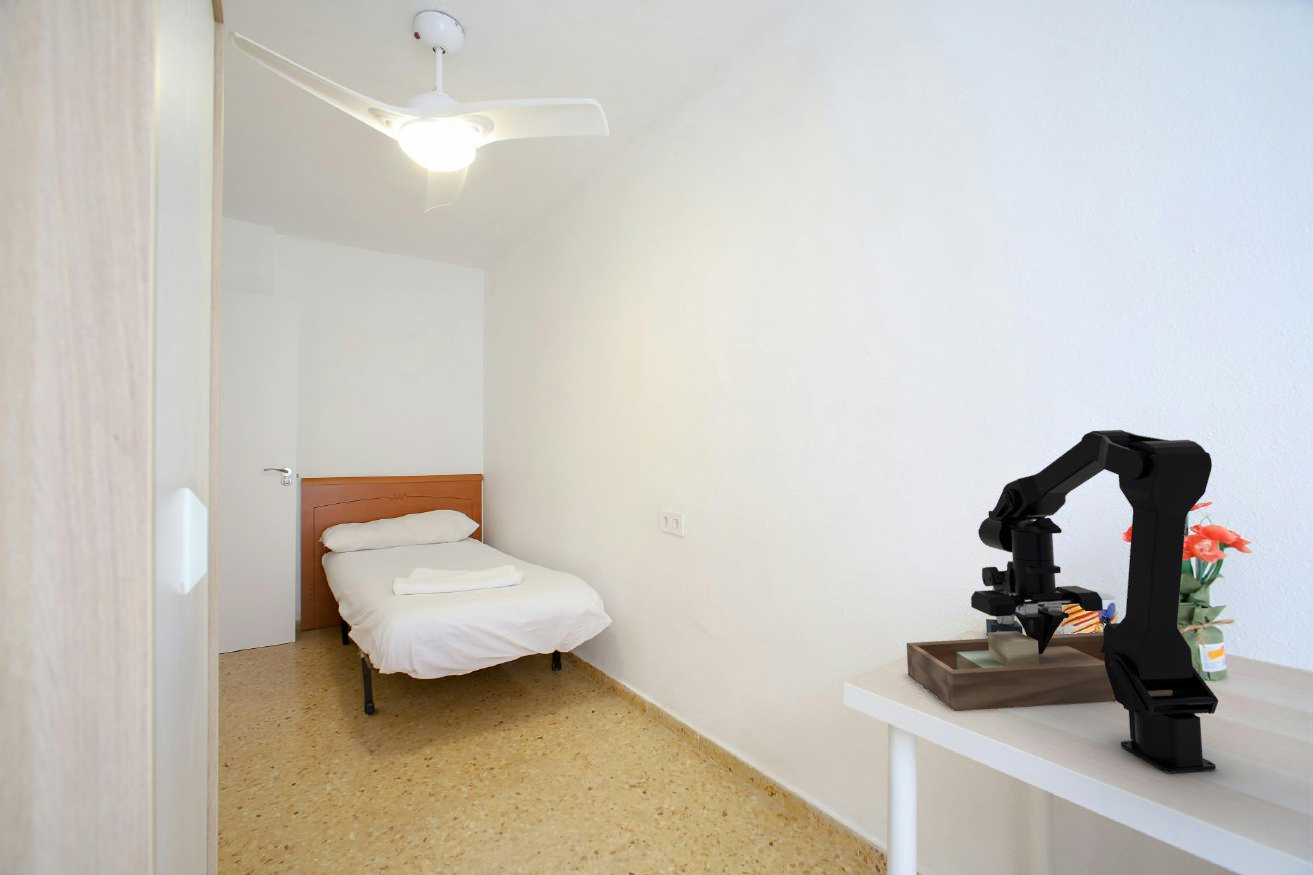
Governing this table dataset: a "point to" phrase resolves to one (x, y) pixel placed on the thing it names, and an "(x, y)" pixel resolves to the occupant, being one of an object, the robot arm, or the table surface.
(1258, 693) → the table surface
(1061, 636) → the tray
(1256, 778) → the table surface
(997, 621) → the watch
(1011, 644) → the maple block
